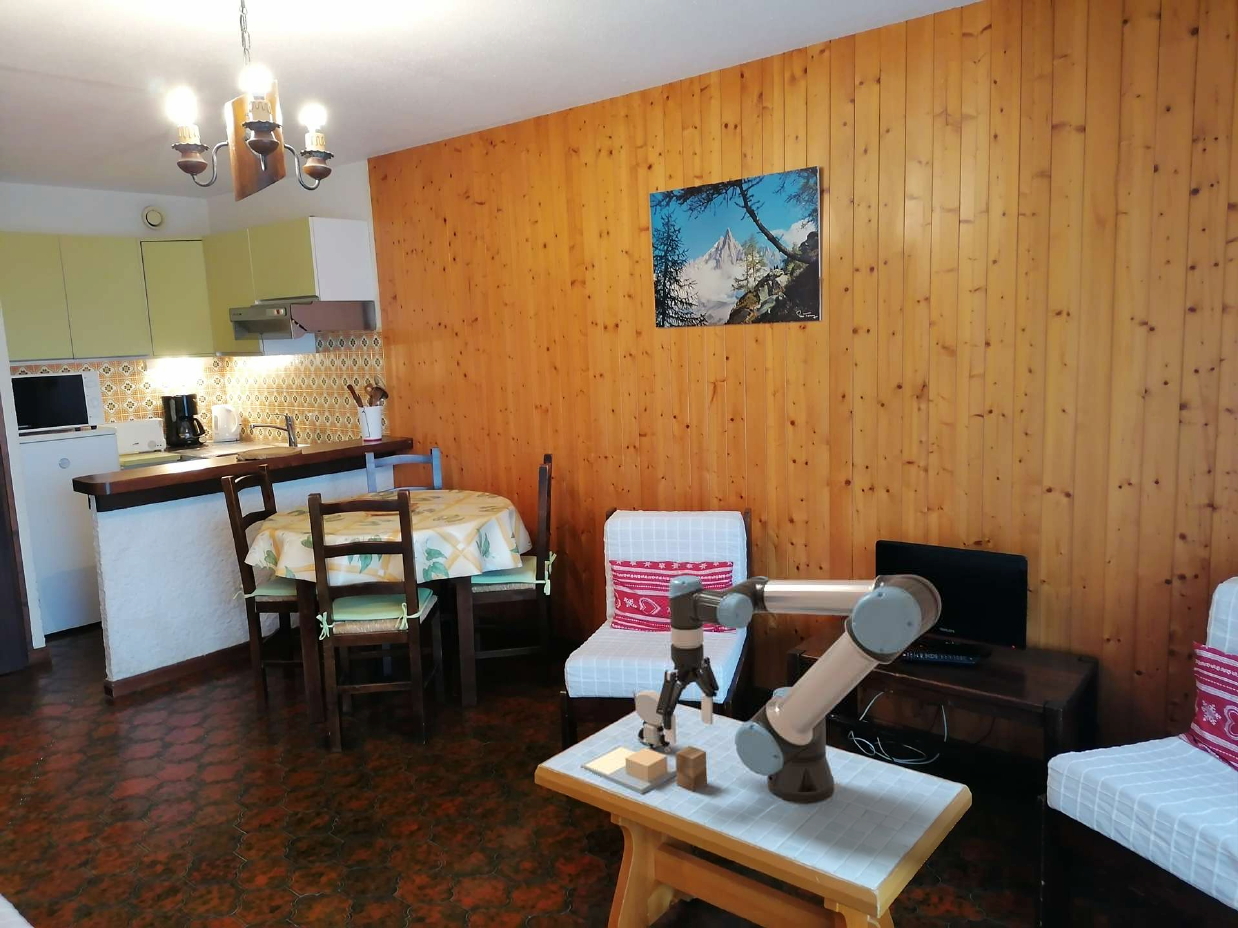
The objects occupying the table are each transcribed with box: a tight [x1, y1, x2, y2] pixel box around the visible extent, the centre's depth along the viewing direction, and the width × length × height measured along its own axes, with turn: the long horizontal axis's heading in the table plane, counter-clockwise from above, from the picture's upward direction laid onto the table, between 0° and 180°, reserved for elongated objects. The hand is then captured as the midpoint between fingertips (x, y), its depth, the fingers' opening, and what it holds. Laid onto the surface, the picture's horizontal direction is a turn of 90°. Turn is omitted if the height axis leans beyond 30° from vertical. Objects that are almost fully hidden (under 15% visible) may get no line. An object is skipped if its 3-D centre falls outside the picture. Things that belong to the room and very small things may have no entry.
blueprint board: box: [580, 745, 676, 795], centre depth 213 cm, size 20×14×5 cm
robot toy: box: [631, 689, 671, 753], centre depth 225 cm, size 12×4×15 cm, turn 44°
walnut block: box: [675, 745, 708, 793], centre depth 205 cm, size 5×5×8 cm
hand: (689, 732), depth 204 cm, fingers open, 13 cm apart
